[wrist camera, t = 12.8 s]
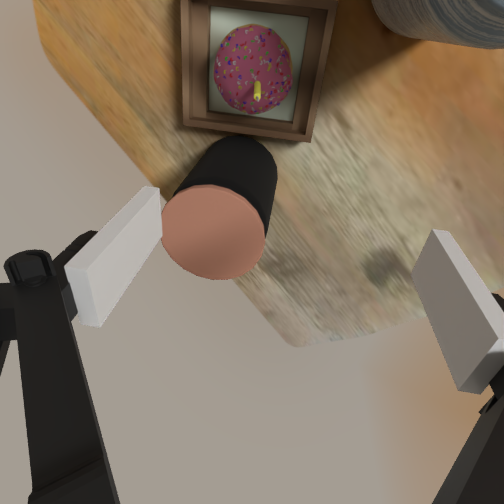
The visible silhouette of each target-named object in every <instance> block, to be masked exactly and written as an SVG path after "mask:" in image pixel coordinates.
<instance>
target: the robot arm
mask: <svg viewBox="0 0 504 504" xmlns="http://www.w3.org/2000/svg"><path fill="white" fill-rule="evenodd" d="M162 236H163V234H162V219H161V204H160V189H159V188H156V187H149V186H144V187H143V188H142V189H141V190H140V191H139V192H138V193H137V194H136V195H135V196H134V197H133V198H132V199H131V200H130V201H129V202H128V203H127V204H126V205H125V206H124V207H123V208H122V209H121V210H120V211H119V212H118V213H117V214H116V215H115V216H114V217H113V218H112V219H111V220H110V221H109V222H108V223H107V224H106V225H105V226H104V227H103V228H102V229H101V230H100V231H99V232H98V231H92V230H91V231H88V232H86V233H84V234H82V235H80V236H78V237H77V238H76V239H75V240H74V241H73V242H72V243H71V245H69V246H68V247H67V248H66V249H65V251H62V252H61V253H60V254H59V255H58V256H57V257H56V258H55V259H54V260H53V261H52V259H51V256H50V254H49V253H48V252H46V251H43V250H26V251H23V252H19V253H17V254H15V255H13V256H11V257H9V258H8V259H7V260H6V261H5V264H4V269H5V271H6V274H7V276H8V279H9V281H10V283H0V375H1V372H2V368H3V364H4V362H5V358H6V355H7V351H8V348H9V344H10V341H11V340H17V342H18V351H19V361H20V369H21V380H22V389H23V399H24V409H25V418H26V428H27V437H28V447H29V456H30V467H31V476H32V493H31V494H30V495H29V497H28V504H120V501H119V498H118V494H117V490H116V486H115V483H114V479H113V475H112V472H111V468H110V464H109V461H108V457H107V453H106V449H105V446H104V442H103V438H102V434H101V431H100V427H99V424H98V420H97V416H96V412H95V409H94V405H93V401H92V397H91V394H90V390H89V386H88V382H87V379H86V375H85V371H84V368H83V364H82V360H81V356H80V353H79V349H78V345H77V341H76V338H75V334H74V330H73V327H72V323H71V321H72V320H73V318H74V317H75V316H76V314H78V317H79V321H80V324H82V325H87V326H93V327H99V328H100V327H101V326H102V324H103V323H104V321H105V320H106V318H107V317H108V315H109V314H110V312H111V311H112V309H113V308H114V306H115V305H116V304H117V302H118V301H119V299H120V297H121V296H122V295H123V293H124V292H125V290H126V289H127V287H128V286H129V284H130V283H131V281H132V280H133V278H134V277H135V275H136V274H137V273H138V271H139V270H140V268H141V267H142V265H143V264H144V262H145V261H146V259H147V258H148V256H149V255H150V253H151V252H152V250H153V249H154V247H155V246H156V244H157V243H158V242H159V240H160V239H161V237H162ZM411 277H412V279H413V282H414V284H415V287H416V289H417V292H418V294H419V297H420V299H421V301H422V304H423V306H424V309H425V311H426V314H427V316H428V318H429V321H430V323H431V326H432V328H433V331H434V333H435V335H436V338H437V340H438V343H439V345H440V348H441V350H442V353H443V355H444V358H445V360H446V362H447V365H448V367H449V370H450V372H451V375H452V377H453V380H454V382H455V384H456V387H457V389H458V391H463V392H470V393H475V394H481V393H482V392H483V391H484V389H485V388H486V387H487V386H488V385H489V384H490V386H491V388H492V390H493V392H494V395H493V396H492V398H491V399H490V400H489V401H488V402H487V403H486V404H485V405H484V406H483V408H482V409H481V410H480V411H479V413H480V414H481V416H480V418H479V420H478V421H477V423H476V425H475V427H474V428H473V430H472V432H471V434H470V436H469V438H468V439H467V441H466V443H465V445H464V447H463V448H462V450H461V452H460V454H459V456H458V457H457V459H456V461H455V463H454V465H453V466H452V469H451V470H450V472H449V474H448V476H447V477H446V479H445V481H444V483H443V485H442V486H441V488H440V490H439V492H438V494H437V496H436V497H435V499H434V501H433V503H432V504H504V299H503V298H502V297H501V296H499V295H498V294H494V293H490V291H489V290H488V288H487V287H486V285H485V284H484V282H483V281H482V279H481V278H480V276H479V275H478V274H477V272H476V271H475V269H474V268H473V266H472V265H471V263H470V262H469V260H468V259H467V257H466V256H465V254H464V253H463V251H462V250H461V248H460V247H459V245H458V244H457V243H456V241H455V240H454V238H453V237H452V235H451V234H450V232H449V231H443V230H436V229H432V230H431V233H430V235H429V237H428V239H427V241H426V243H425V245H424V247H423V249H422V252H421V254H420V256H419V258H418V260H417V262H416V264H415V266H414V268H413V270H412V273H411Z"/></svg>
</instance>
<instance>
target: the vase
mask: <svg viewBox="0 0 504 504" xmlns="http://www.w3.org/2000/svg"><path fill="white" fill-rule="evenodd" d="M371 2H372V5H373V7H374V9H375V12H376V14H377V15H378V17H379V18H380V20H381V21H382V22H383V23H384V24H385V25H386V26H387V27H388V28H389V29H390V30H392V31H393V32H395V33H396V34H399V35H402V36H405V37H409V38H415V39H422V40H428V41H435V42H442V43H448V44H455V45H461V46H468V47H475V48H483V49H503V48H504V0H371Z"/></svg>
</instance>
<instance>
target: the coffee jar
mask: <svg viewBox="0 0 504 504" xmlns="http://www.w3.org/2000/svg"><path fill="white" fill-rule="evenodd" d="M277 179H278V177H277V166H276V164H275V161H274V159H273V156H272V155H271V153H270V152H269V151H268V150H267V149H266V148H265V146H264V145H262V144H261V143H259V142H257V141H256V140H254V139H252V138H248V137H244V136H227V137H225V138H223V139H221V140H218V141H216V142H215V143H214V144H213V145H212V146H211V147H210V148H209V149H208V150H207V151H206V153H205V154H204V155H203V157H202V158H201V159H200V160H199V162H198V163H197V164H196V166H195V167H194V168H193V169H192V171H191V172H190V173H189V175H188V176H187V177H186V178H185V180H184V181H183V182H182V183H181V185H180V186H179V187H178V189H177V190H176V191H175V192H174V195H173V197H172V199H171V200H169V201H168V202H167V203H166V204H165V207H164V209H163V211H162V213H161V219H162V234H163V236H162V237H161V241H162V244H163V247H164V248H165V249H166V251H167V252H168V254H169V255H170V257H171V258H172V259H173V260H174V261H175V262H176V263H177V264H178V265H180V266H181V267H182V268H183V269H185V270H187V271H189V272H191V273H193V274H195V275H196V276H200V277H204V278H208V279H212V280H215V279H216V280H220V279H221V280H225V279H226V280H227V279H231V278H235V277H238V276H241V275H243V274H244V273H246V272H248V271H249V270H251V269H252V268H253V267H254V266H255V265H256V263H257V262H258V261H259V259H260V258H261V256H262V252H263V249H264V245H265V238H266V234H267V231H268V226H269V221H270V215H271V210H272V205H273V200H274V194H275V189H276V184H277Z"/></svg>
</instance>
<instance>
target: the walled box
mask: <svg viewBox="0 0 504 504" xmlns="http://www.w3.org/2000/svg"><path fill="white" fill-rule="evenodd" d="M180 2H181V49H182V96H183V125H185V126H192V127H200V128H207V129H214V130H221V131H229V132H236V133H243V134H250V135H258V136H265V137H272V138H279V139H287V140H294V141H301V142H308V143H311V138H312V133H313V127H314V122H315V117H316V112H317V107H318V102H319V97H320V92H321V87H322V82H323V76H324V71H325V66H326V61H327V56H328V51H329V46H330V41H331V36H332V31H333V26H334V20H335V15H336V10H337V5H338V1H337V0H180ZM247 24H258V25H262V26H265V27H268V28H271V29H273V30H274V31H275V32H276V33H277V34H278V35H279V37H281V38H282V40H283V41H284V42H285V43H286V45H287V46H288V48H289V50H290V54H291V60H292V66H293V70H292V77H293V83H292V86H291V89H290V91H289V94H288V95H287V96H286V97H285V99H284V100H283V101H282V102H281V103H280V105H279V104H278V105H279V106H278V105H277V106H276V107H274V108H273V109H271V110H269V111H267V112H264V113H260V114H248V115H247V114H246V113H244V112H241V111H239V110H237V109H235V108H233V107H231V106H229V105H228V104H227V103H225V100H224V99H223V97H222V95H221V94H220V93H219V92H218V88H217V87H216V83H215V81H214V77H213V70H214V63H215V58H216V54H217V52H218V49H219V46H220V44H221V42H222V40H223V39H224V38H225V36H226V35H227V34H228V33H230V32H231V31H232V30H233V29H235V28H237V27H240V26H243V25H247Z"/></svg>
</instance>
